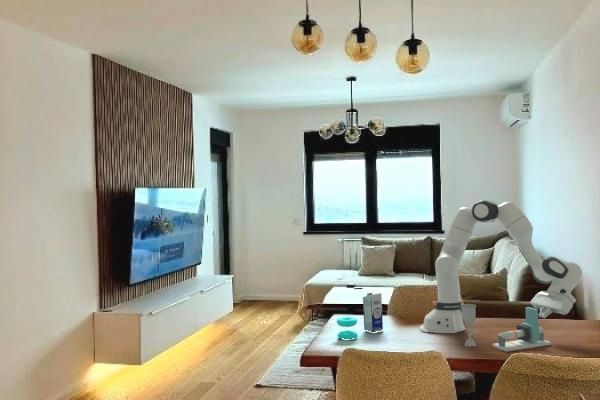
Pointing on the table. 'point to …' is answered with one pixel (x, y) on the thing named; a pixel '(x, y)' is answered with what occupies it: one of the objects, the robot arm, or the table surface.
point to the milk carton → (373, 312)
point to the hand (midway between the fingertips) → (541, 317)
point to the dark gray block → (525, 333)
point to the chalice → (469, 320)
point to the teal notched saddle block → (532, 324)
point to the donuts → (347, 323)
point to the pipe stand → (518, 341)
